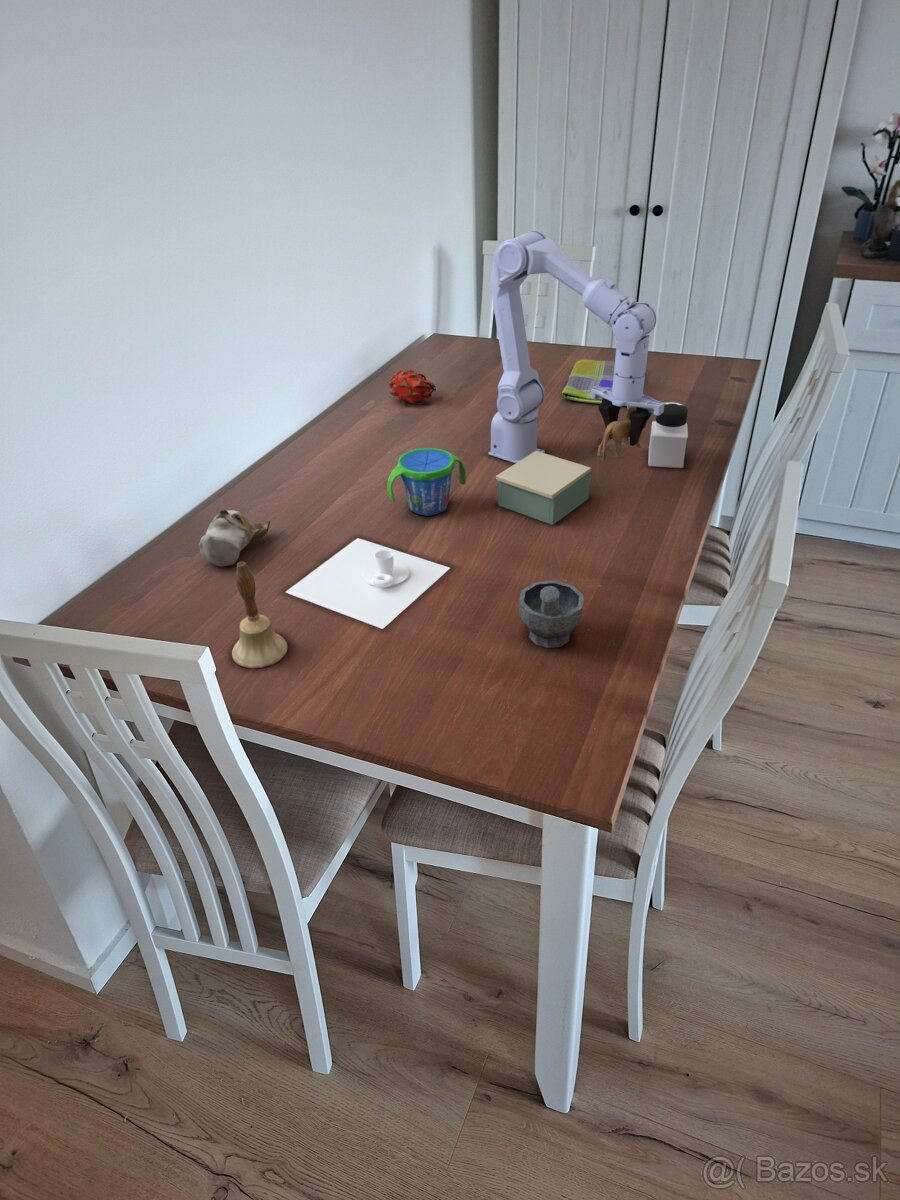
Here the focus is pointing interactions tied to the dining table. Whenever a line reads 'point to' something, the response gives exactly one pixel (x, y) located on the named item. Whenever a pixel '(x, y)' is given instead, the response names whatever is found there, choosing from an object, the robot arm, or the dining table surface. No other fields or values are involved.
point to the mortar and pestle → (550, 611)
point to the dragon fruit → (410, 386)
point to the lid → (543, 474)
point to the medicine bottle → (669, 437)
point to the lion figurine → (618, 435)
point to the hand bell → (255, 629)
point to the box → (544, 500)
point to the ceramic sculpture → (229, 537)
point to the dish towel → (588, 380)
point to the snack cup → (426, 479)
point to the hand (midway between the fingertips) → (622, 440)
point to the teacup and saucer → (368, 582)
